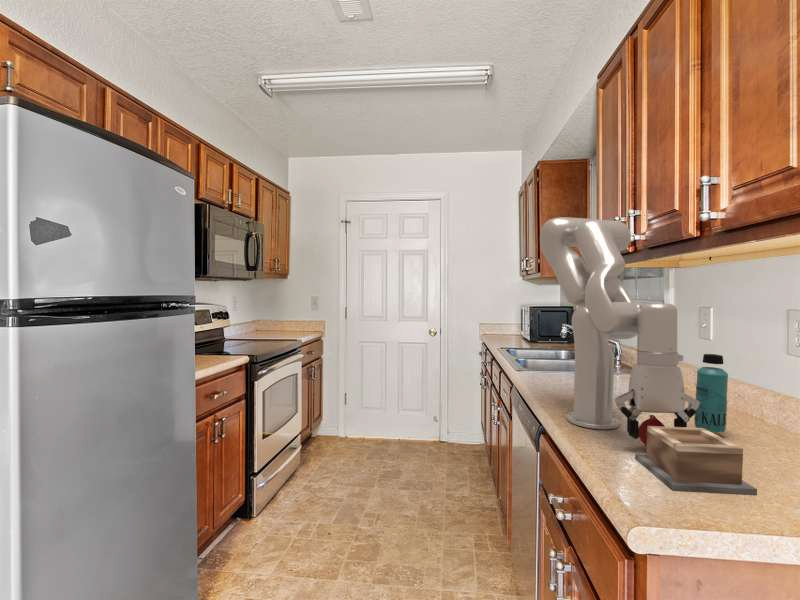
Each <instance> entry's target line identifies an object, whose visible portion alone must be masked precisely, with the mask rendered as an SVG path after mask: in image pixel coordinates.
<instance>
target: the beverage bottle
mask: <svg viewBox="0 0 800 600" xmlns="http://www.w3.org/2000/svg"><path fill="white" fill-rule="evenodd" d="M702 363H704V364H712V365H724V356H723V355H720V354H717V353H715V354H714V353H705V354H703V355H702ZM728 379H729V373H728V372H726V371H725V370H724V369H723V368H720V367H713V366H701V367H700V368H699V369H697V371H696V385H695V393H694V394H695V399H696V400H698V401H699V402H700V405H699V406H698V408H697V410H696V413H695V414H694V418H693V419H694V420H693V422H694V426H695V427H694V428H704V429H706V430H708V431H710V432H712V433H718V434H719V433H725V432H726V429H727V420H728V419H727V415H728V413H727V411H728V384H729V383H728V381H729V380H728Z"/></svg>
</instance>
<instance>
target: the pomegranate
mask: <svg viewBox="0 0 800 600" xmlns="http://www.w3.org/2000/svg"><path fill="white" fill-rule="evenodd" d="M647 426H662V427H666V426H665V424H663V422H662V421H660V420H659V419H658V418H657V417H656V416H655V415H654V414H650V415H649V418H647V419H645V420H644V421H642V422H641V423H640V424H639V438H638V439H639V441H640V442H641V443H642V444H643V445H644V446H645V448H647Z"/></svg>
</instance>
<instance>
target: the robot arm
mask: <svg viewBox="0 0 800 600" xmlns="http://www.w3.org/2000/svg"><path fill="white" fill-rule="evenodd" d="M631 239H632V234H631V231H630V229H629V227H628V226H627V224H626V223H624V222H622V221H619V220H609V219H607V220H606V219H597V218H584V217H583V218H582V217H566V216H562V217H561V216H560V217H559V216H558V217H554V218H550V219H548V220H547V221H546V222H544V224H543V225H542V226H541V229H540V234H539V241H540V242H539V245H540V249H541V252H542V254H543V257H544V259H545V260H546V261H547V263H548V264H549V266H550V268H551V269H552V271H553V273H554V274H555V277H556V280H557V281H558V284H559V286H560V287H561V289H562V290H561V291H562V293H563V295H564V297H565V299H566V300H567V302H568V303H569V304H570V305H572V306H575V307H577V308H576V309H575V310H574V311H573V313H572V316H571V326H572V327H571V328H572V333H573V340H574V376H573V377H574V380H573V381H574V382H573V384H574V385H573V410H572V411H571V412H568V413H567V415H566V420H567V421H568V422H570V423H571V424H573V425H577V426H579V427H583V428H586V429H593V430H594V429H595V430H613V429H614V430H615V429H617V428H618V427H620V426H619V425H620V420H618V419H617V418H616V417H614V416H613V415H614V414H613V412H614V411H613V410H614V407H613V406H614V402H615V404H616V406H617V408H618V410H619V411H620V412H621V413H622V414H623V415H624V416H625V417H626V431H627V434H628V435H629V436H630V438H633V439H634V440H638V439H639V426H640V424H639V423H640V422H639V420H637V419H638V417H639V416H640V415H641V414H642V413H650V414H651V413H656V414H673V415H675V417H676V418H674V420H673V427H686V428H688V423H689V422H690V421H691V419H692V417H693V416H695V413H696V410H697V408H698V406H699V405H700V402H699V401H698V400H696V398H694V397H692V396H690V395H688V394H686V392H685V384H684V383H685V382H684V378H683V374H682V370H681V367H680V366H678V365H679V362H683V361H684V355H683V354H679V352H678V308H677V307H676V306H675V304H672V303H665V302H663V303H660V302H659V303H658V302H657V303H656V302H653V303H647V302H637V301H636V302H635V301H634V300H633V299H632V298H631V295H630V294H629V292H628V290H627V288H626V286H625V285H624V284H623V281H621V280H620V279H619V278H618V276H619V275H621V274H622V273H623V272H624V271H625V268H626V262H625V259H624V258H623V256H622V254H621V252H623V251H624V250H626V249H627V248H628V247H629V245H630V244H631V243H630V242H631ZM570 247H571V248H570ZM572 247H573V248H574V247H576V248H578V250H579V253H580V254H578V252H576V250H575V251H574V250H573V249H572ZM636 336H637V337H636ZM633 338H636V340H637V341H636V342H637V345H636V347H637V349H636V350H637V351H636V363H635V364H632V367H631V371H630V375H629V376H630V377H629V382H628V383H629V384H628V391H627V392H625V393H623V394H621V395H618V396H616V397H615V398H614V380H615V379H614V378H615V377H614V375H615V374H614V373H615V357H614V353H613V350H612V349H611V346H610V345H609V343H608V341H610V340H611V341H612V340H613V341H615V340H616V341H617V340H618V341H619V340H620V341H621V340H629V339H630V340H631V339H633ZM626 402H628V406H629V408H627V407H626V405H625V404H626ZM686 402H687V404H688V405H687V407H686ZM685 407H686V408H685Z"/></svg>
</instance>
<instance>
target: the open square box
mask: <svg viewBox="0 0 800 600" xmlns="http://www.w3.org/2000/svg"><path fill="white" fill-rule="evenodd" d="M634 459H635V460H637V462H638V463H640V464H641V466H643V467H645V468H646V469H647V470H648V471H649V472H650V473H651V474H652V475H654V476H655V477H656V478H657V479H659V480H660V481H661V482H662V483H663V484H665V485H666V486H667V487H668V488H669V489H671V490H672V491H674V492H675V491H677V492H680V491H681V492H694V493H695V492H696V493H711V494H712V493H714V494H715V493H716V494H731V495H732V494H734V495H750V496H751V495H752V496H757V495H758V489H757V488H756V487H754V486H753V485H751V484H749V483H748V482H747V481H745V480H743V464H744V448H743V447H740V446H739V445H737V444H735V443H733V442H731V441H729V440H727V439H725V438H723V437H721V436H719V435H718V434H715V432H710V431H708V430H706V429H704V428H696V427H687V428H686V427H674V426H665V427H662V426H647V447H646V454H644V453H643V454H642V453H635V454H634Z"/></svg>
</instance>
